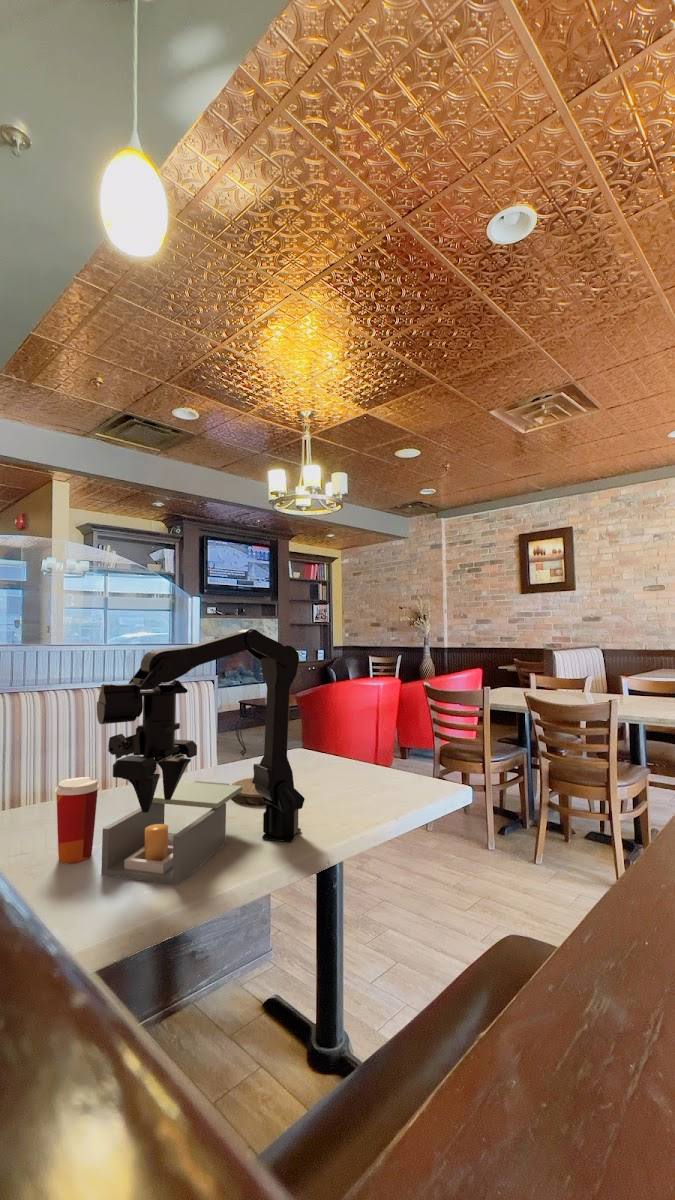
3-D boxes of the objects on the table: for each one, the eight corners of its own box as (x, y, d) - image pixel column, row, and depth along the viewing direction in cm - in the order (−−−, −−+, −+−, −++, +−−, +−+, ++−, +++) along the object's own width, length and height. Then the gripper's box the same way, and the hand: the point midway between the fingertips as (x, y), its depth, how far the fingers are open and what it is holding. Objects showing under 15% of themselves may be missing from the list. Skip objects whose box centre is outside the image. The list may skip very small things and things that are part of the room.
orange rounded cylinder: (171, 858, 99) (172, 824, 99) (159, 867, 95) (160, 832, 95) (152, 856, 100) (153, 823, 100) (139, 865, 96) (140, 830, 96)
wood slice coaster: (218, 796, 140) (218, 784, 140) (269, 784, 150) (269, 773, 151) (252, 811, 128) (252, 799, 128) (304, 798, 139) (305, 786, 139)
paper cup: (85, 845, 107) (88, 774, 107) (105, 856, 102) (107, 781, 103) (44, 858, 101) (46, 782, 101) (62, 870, 96) (65, 790, 97)
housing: (225, 843, 108) (226, 803, 109) (178, 885, 91) (179, 836, 91) (158, 836, 112) (159, 797, 112) (101, 875, 94) (102, 828, 95)
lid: (243, 798, 117) (243, 784, 117) (216, 819, 105) (217, 803, 105) (181, 793, 121) (181, 779, 121) (148, 812, 108) (148, 797, 108)
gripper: (149, 709, 110) (147, 787, 109) (86, 725, 91) (83, 819, 91) (199, 712, 107) (197, 792, 106) (144, 728, 89) (141, 825, 88)
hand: (156, 805), depth 98 cm, fingers open, 7 cm apart
